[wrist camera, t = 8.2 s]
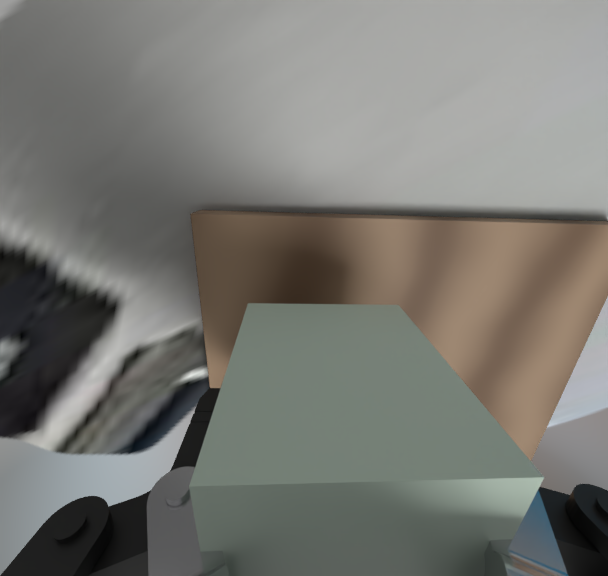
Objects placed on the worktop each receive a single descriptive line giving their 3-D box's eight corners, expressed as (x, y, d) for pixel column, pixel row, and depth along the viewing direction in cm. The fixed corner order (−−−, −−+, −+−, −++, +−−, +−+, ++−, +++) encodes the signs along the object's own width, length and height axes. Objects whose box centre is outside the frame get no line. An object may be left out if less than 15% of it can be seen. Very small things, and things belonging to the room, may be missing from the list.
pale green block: (398, 304, 11) (544, 477, 5) (378, 418, 14) (461, 640, 7) (248, 303, 11) (189, 486, 5) (252, 419, 13) (218, 655, 7)
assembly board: (608, 221, 16) (765, 243, 10) (510, 455, 22) (576, 539, 17) (200, 209, 14) (150, 229, 9) (225, 460, 21) (204, 552, 16)
